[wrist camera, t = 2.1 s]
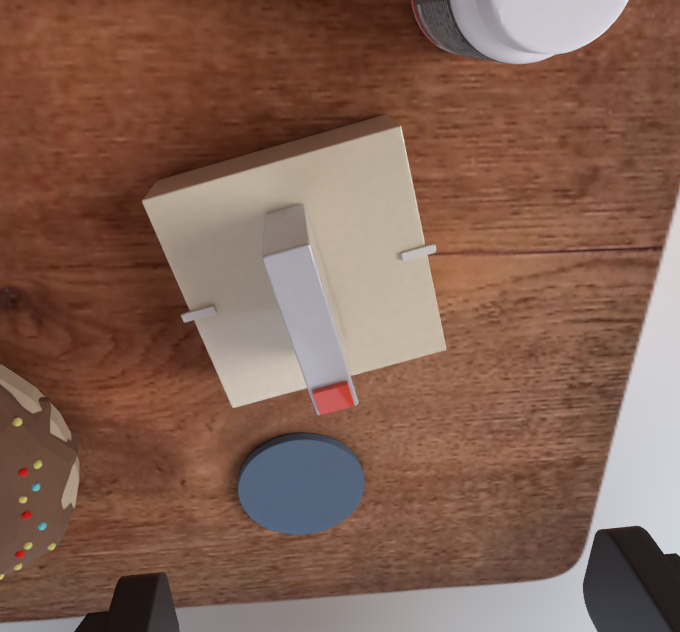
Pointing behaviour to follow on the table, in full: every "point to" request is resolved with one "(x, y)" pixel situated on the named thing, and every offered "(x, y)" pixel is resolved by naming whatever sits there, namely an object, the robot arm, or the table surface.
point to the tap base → (333, 244)
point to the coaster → (300, 483)
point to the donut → (33, 473)
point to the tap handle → (308, 308)
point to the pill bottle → (514, 26)
